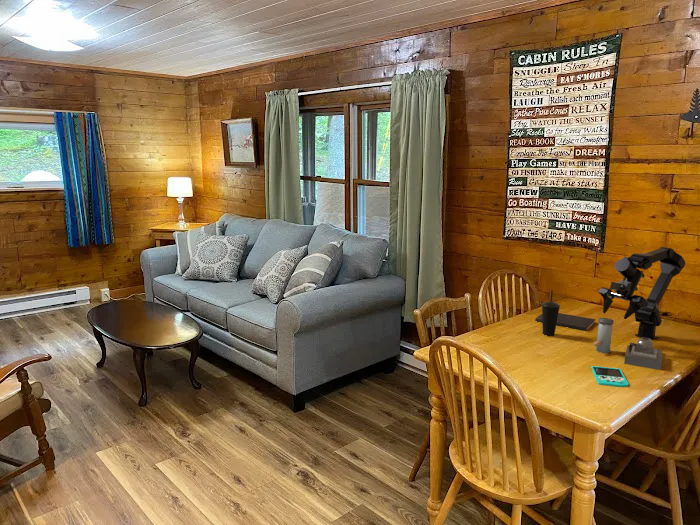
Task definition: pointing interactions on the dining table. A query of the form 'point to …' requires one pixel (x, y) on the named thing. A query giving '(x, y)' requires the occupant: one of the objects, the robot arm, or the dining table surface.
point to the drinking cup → (549, 316)
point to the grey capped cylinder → (604, 335)
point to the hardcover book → (571, 321)
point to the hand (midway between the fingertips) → (614, 315)
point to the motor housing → (643, 354)
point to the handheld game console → (609, 376)
